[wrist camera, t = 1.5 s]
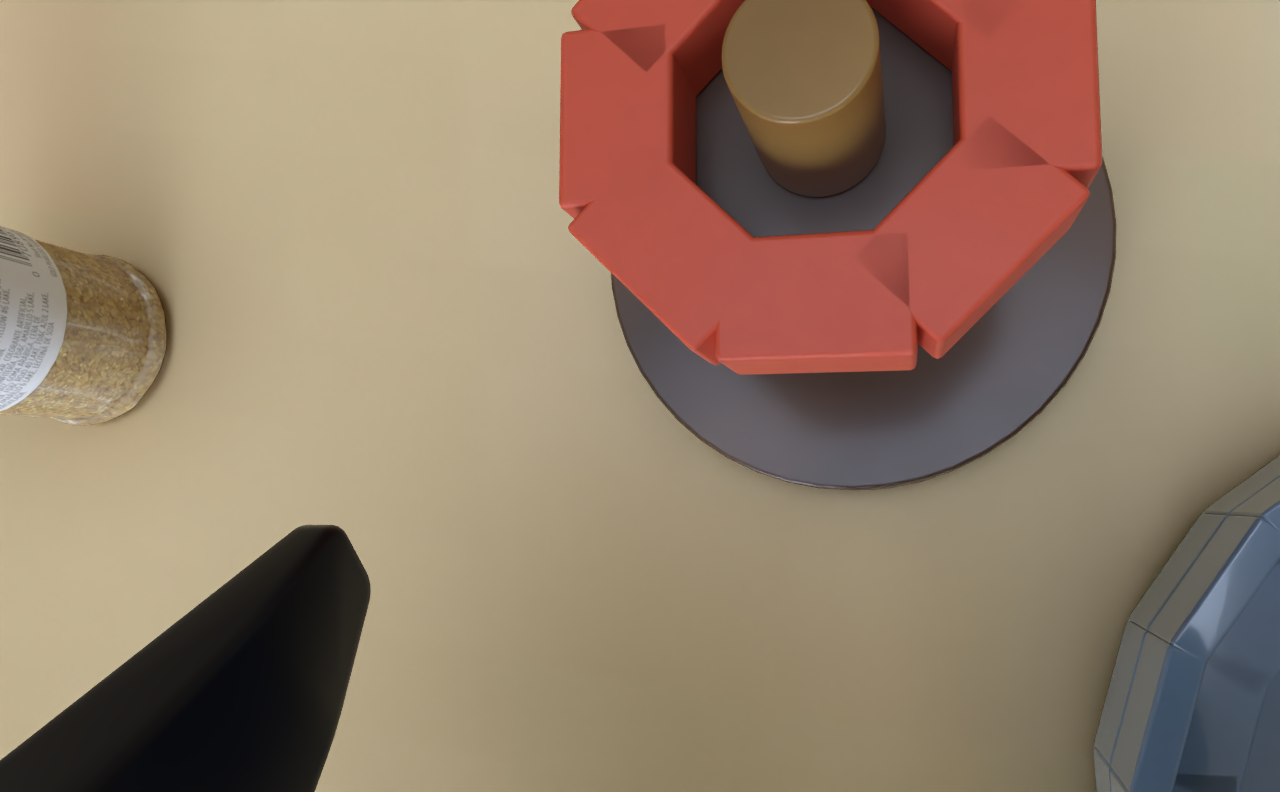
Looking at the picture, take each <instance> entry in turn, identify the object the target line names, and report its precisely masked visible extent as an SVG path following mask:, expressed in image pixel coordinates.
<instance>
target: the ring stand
mask: <svg viewBox="0 0 1280 792" xmlns="http://www.w3.org/2000/svg"><path fill="white" fill-rule="evenodd" d="M721 59H722V69H721V70H720V71H719V72H718V73H717V74H716V75H715V76H714V77H713V78H712V79H711V80H710V82H709V83H708V84H707V85H706V86H705V87H704V88H703V89H702V90H701V91H700V92H699V94H698V95H697V96H696V185H697V186H698V187H700V188H701V189H702V190H703V191H704V192H705V193H706V194H707V195H708V196H709V197H710V198H712V199H713V200H714V201H715V202H716V203H717V204H718V205H719V206H720V207H721V208H722V209H724V210H725V211H726V212H727V213H728V214H729V215H730V216H731V217H732V218H733V219H734V220H736V221H737V222H738V223H739V224H740V225H741V226H742V227H743V228H744V229H745V230H746V231H748V232H749V233H750V234H751V235H752V236H753V237H768V236H784V235H800V234H816V233H832V232H848V231H864V230H873V229H874V228H875V227H876V226H877V225H878V224H879V223H880V222H881V221H882V220H883V219H884V218H885V217H886V216H887V215H888V214H889V213H890V212H891V211H892V210H893V208H894V207H895V206H896V205H897V204H898V203H899V202H900V201H901V200H902V199H903V198H904V197H905V196H906V195H907V194H908V193H909V192H910V191H911V190H912V189H913V188H914V187H915V186H916V185H917V184H918V183H919V182H920V181H921V180H922V178H923V177H924V176H925V175H926V174H927V173H928V172H929V171H930V170H931V169H932V168H933V167H934V166H935V165H936V164H937V163H938V162H939V161H940V160H941V159H942V158H943V157H944V156H945V155H946V154H947V153H948V152H949V151H950V149H951V148H952V147H953V146H954V135H953V98H952V71H951V70H949V69H948V68H947V67H946V66H944V65H943V64H942V63H941V62H939V61H938V60H937V59H936V58H934V57H933V56H932V55H931V54H929V53H928V52H927V51H926V50H924V49H923V48H922V47H921V46H919V45H918V44H917V43H916V42H914V41H913V40H912V39H911V38H909V37H908V36H907V35H906V34H904V33H903V32H902V31H901V30H899V29H898V28H897V27H896V26H894V25H893V24H892V23H891V22H889V21H888V20H887V19H886V18H885V17H883V16H882V15H881V14H880V13H878V12H877V11H876V10H875V9H873V8H872V7H870V5H869V4H868V2H867V1H866V0H745V1H744V2H743V3H742V5H741V6H740V7H739V8H738V10H737V11H736V13H735V14H734V16H733V18H732V19H731V21H730V23H729V25H728V28H727V30H726V33H725V36H724V40H723V45H722V57H721ZM1088 190H1089V191H1090V195H1089V198H1088V199H1087V201H1086V203H1085V204H1084V206H1083V208H1082V209H1081V211H1080V213H1079V214H1078V216H1077V218H1076V219H1075V221H1074V223H1073V224H1072V226H1071V228H1070V229H1069V230H1068V231H1067V232H1066V233H1065V234H1064V235H1063V236H1062V237H1061V238H1060V239H1059V240H1058V241H1057V242H1056V243H1055V244H1054V245H1053V246H1052V247H1051V248H1050V249H1049V250H1048V251H1047V252H1046V253H1045V254H1044V255H1043V256H1042V257H1041V258H1040V259H1039V260H1038V261H1037V262H1036V263H1035V264H1034V265H1033V266H1032V267H1031V268H1030V269H1029V270H1028V271H1027V272H1026V273H1025V274H1024V275H1023V276H1022V277H1021V278H1020V279H1019V280H1018V281H1017V282H1016V283H1015V284H1014V285H1013V286H1012V287H1011V288H1010V289H1009V290H1008V291H1007V292H1006V293H1005V294H1004V295H1003V296H1002V297H1001V298H1000V299H999V300H998V301H997V302H996V303H995V304H994V305H993V306H992V307H991V308H990V309H989V310H988V311H987V312H986V313H985V314H984V315H983V316H982V317H981V318H980V319H979V320H978V321H977V322H976V323H975V324H974V325H973V326H972V327H971V328H970V329H969V330H968V331H967V332H966V333H965V334H964V335H963V336H962V337H961V338H960V339H959V340H958V341H957V342H956V343H955V344H954V345H953V346H952V347H951V348H950V349H949V350H948V351H947V352H946V353H945V354H944V355H943V356H942V357H941V358H939V359H936V358H934V357H932V356H931V355H930V354H929V353H928V352H927V351H926V350H925V349H923V348H922V347H921V346H920V345H919V344H918V353H917V365H916V367H915V369H912V370H902V371H864V372H826V373H788V374H750V375H740V374H737V373H735V372H734V371H732V370H731V369H729V368H728V367H726V366H725V365H724V364H722V363H720V364H718V365H716V366H715V365H713V364H711V363H709V362H708V361H706V360H705V359H703V358H702V357H700V356H699V355H697V354H696V353H694V352H693V351H691V350H690V349H689V348H688V347H687V346H686V345H685V344H684V343H683V342H682V341H681V340H680V339H679V338H678V337H677V336H676V335H675V334H674V333H673V332H672V331H670V330H669V329H668V328H667V327H666V326H665V325H664V324H663V323H662V322H661V321H660V320H659V319H658V318H657V317H656V316H655V315H654V314H653V313H652V312H651V311H650V310H649V309H648V308H647V307H646V306H645V305H644V304H643V303H642V302H641V301H640V300H639V299H638V298H637V297H636V296H635V295H634V294H633V293H632V292H631V291H630V290H629V289H628V288H627V287H626V286H625V285H623V284H622V283H621V282H620V281H619V280H618V279H617V278H616V277H615V276H614V275H613V274H612V273H611V280H612V290H613V295H614V300H615V305H616V310H617V316H618V319H619V322H620V325H621V328H622V331H623V334H624V337H625V340H626V343H627V346H628V348H629V350H630V352H631V354H632V356H633V358H634V360H635V362H636V364H637V366H638V368H639V370H640V372H641V373H642V375H643V376H644V378H645V379H646V381H647V382H648V384H649V385H650V387H651V388H652V390H653V391H654V393H655V394H656V396H657V397H658V398H659V400H660V401H661V402H662V403H663V404H664V405H665V406H666V408H667V409H668V410H669V411H670V412H671V413H672V414H673V415H674V417H675V418H676V419H677V420H678V421H679V422H680V423H681V424H683V425H684V426H685V427H686V428H687V429H688V430H690V431H691V432H692V433H693V434H694V435H695V436H696V437H698V438H699V439H700V440H701V441H703V442H704V443H706V444H707V445H709V446H710V447H712V448H713V449H715V450H716V451H718V452H719V453H721V454H722V455H724V456H725V457H727V458H729V459H731V460H733V461H735V462H737V463H739V464H741V465H743V466H745V467H747V468H749V469H752V470H754V471H756V472H758V473H761V474H765V475H768V476H771V477H774V478H777V479H780V480H783V481H786V482H790V483H795V484H800V485H806V486H811V487H816V488H825V489H841V490H870V489H884V488H892V487H897V486H902V485H907V484H912V483H917V482H921V481H924V480H927V479H930V478H933V477H936V476H939V475H942V474H945V473H948V472H951V471H953V470H955V469H957V468H959V467H961V466H963V465H965V464H967V463H969V462H971V461H973V460H975V459H978V458H980V457H982V456H983V455H985V454H987V453H988V452H990V451H991V450H993V449H994V448H996V447H997V446H999V445H1000V444H1002V443H1004V442H1005V441H1007V440H1008V439H1010V438H1011V437H1013V436H1014V435H1015V434H1017V433H1018V432H1019V431H1020V430H1021V429H1022V428H1023V427H1025V426H1026V425H1027V424H1028V423H1029V422H1030V421H1031V420H1033V419H1034V418H1035V417H1036V416H1037V415H1038V414H1040V413H1041V412H1042V411H1043V410H1044V408H1045V407H1046V406H1047V405H1048V404H1049V403H1050V402H1051V400H1052V399H1053V398H1054V397H1055V396H1056V395H1057V394H1058V392H1059V391H1060V390H1061V389H1062V388H1063V387H1064V386H1065V384H1066V383H1067V381H1068V380H1069V378H1070V377H1071V375H1072V374H1073V372H1074V371H1075V369H1076V368H1077V366H1078V365H1079V363H1080V362H1081V360H1082V359H1083V357H1084V355H1085V353H1086V351H1087V349H1088V347H1089V345H1090V343H1091V341H1092V339H1093V337H1094V335H1095V333H1096V330H1097V328H1098V326H1099V324H1100V321H1101V318H1102V315H1103V312H1104V308H1105V305H1106V302H1107V299H1108V296H1109V293H1110V288H1111V282H1112V276H1113V270H1114V264H1115V258H1116V217H1115V209H1114V201H1113V193H1112V188H1111V184H1110V181H1109V177H1108V174H1107V170H1106V166H1105V163H1104V159H1103V156H1102V165H1101V167H1100V169H1099V171H1098V173H1097V174H1096V176H1095V178H1094V179H1093V181H1092V183H1091V185H1090V186H1089V188H1088Z"/></svg>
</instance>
